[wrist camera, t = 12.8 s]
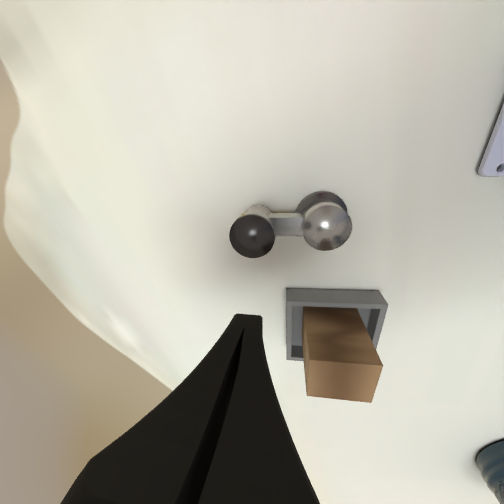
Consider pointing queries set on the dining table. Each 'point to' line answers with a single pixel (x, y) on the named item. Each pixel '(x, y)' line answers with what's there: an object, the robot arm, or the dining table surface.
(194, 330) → the dining table surface
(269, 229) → the crank lever
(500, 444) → the canister
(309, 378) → the block
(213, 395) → the robot arm
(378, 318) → the tray
